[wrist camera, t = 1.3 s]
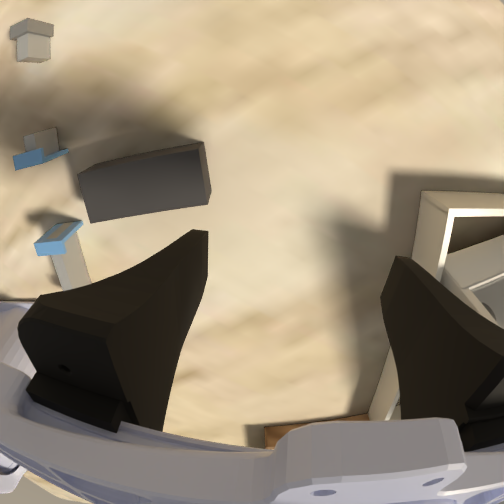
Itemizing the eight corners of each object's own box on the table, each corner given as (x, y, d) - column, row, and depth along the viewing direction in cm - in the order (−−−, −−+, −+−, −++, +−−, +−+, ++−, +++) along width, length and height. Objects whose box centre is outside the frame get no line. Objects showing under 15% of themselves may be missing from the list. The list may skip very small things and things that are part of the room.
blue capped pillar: (78, 295, 25) (62, 320, 22) (31, 33, 15) (4, 29, 12) (103, 295, 25) (88, 321, 22) (59, 22, 15) (32, 15, 12)
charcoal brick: (107, 207, 22) (90, 223, 19) (96, 163, 20) (77, 174, 18) (211, 189, 22) (207, 204, 19) (204, 141, 20) (198, 148, 17)
